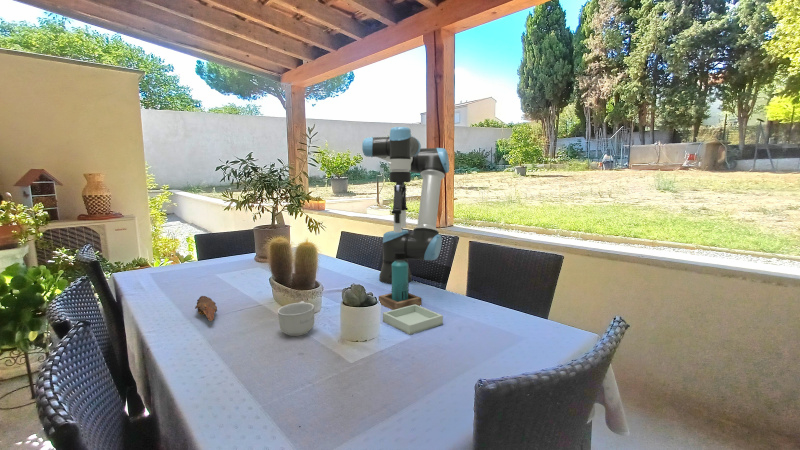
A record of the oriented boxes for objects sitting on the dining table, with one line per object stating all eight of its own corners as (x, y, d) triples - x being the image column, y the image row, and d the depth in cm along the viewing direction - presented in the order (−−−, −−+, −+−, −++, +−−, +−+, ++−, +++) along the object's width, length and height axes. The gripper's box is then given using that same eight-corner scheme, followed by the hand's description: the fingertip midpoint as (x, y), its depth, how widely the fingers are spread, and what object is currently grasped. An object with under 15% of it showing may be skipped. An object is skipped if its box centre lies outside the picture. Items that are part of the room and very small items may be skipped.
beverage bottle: (401, 308, 140) (401, 254, 137) (387, 305, 144) (387, 252, 141) (412, 304, 145) (412, 252, 142) (398, 300, 149) (398, 250, 146)
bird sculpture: (202, 330, 120) (201, 314, 119) (190, 308, 140) (189, 295, 139) (225, 325, 124) (224, 310, 123) (210, 304, 144) (209, 291, 143)
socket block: (402, 297, 152) (402, 290, 152) (421, 305, 143) (421, 297, 143) (378, 303, 145) (378, 296, 145) (397, 312, 136) (397, 303, 136)
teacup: (305, 341, 112) (304, 314, 111) (271, 338, 114) (270, 312, 113) (324, 323, 126) (323, 299, 125) (293, 321, 128) (292, 297, 127)
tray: (415, 312, 136) (415, 304, 136) (442, 324, 125) (442, 315, 125) (382, 321, 127) (382, 312, 127) (409, 335, 116) (409, 325, 116)
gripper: (394, 171, 151) (394, 225, 154) (384, 170, 126) (384, 234, 129) (413, 171, 150) (413, 225, 153) (406, 170, 125) (406, 234, 128)
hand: (400, 229), depth 141 cm, fingers open, 13 cm apart
